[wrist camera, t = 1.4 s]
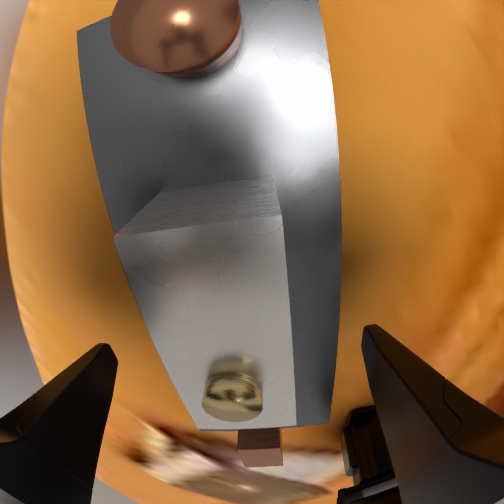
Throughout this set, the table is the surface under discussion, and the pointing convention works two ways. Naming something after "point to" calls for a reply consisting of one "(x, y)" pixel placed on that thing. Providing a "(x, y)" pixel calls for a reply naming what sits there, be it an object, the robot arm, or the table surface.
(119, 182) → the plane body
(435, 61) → the table surface
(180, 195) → the brown and grey block
